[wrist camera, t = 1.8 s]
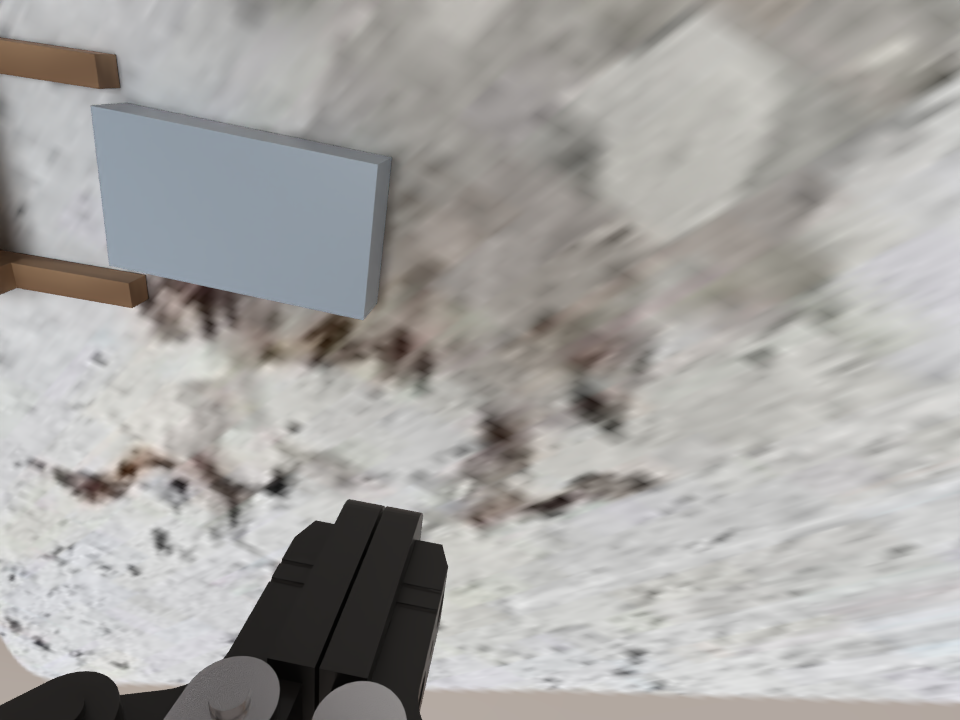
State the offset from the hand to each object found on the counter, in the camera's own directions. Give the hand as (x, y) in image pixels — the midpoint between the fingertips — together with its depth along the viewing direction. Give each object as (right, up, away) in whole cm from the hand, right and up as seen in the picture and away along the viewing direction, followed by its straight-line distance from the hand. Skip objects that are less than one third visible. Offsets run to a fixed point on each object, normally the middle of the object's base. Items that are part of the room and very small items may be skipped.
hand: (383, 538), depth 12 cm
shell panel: (-10, +12, +20) cm, 26 cm away
